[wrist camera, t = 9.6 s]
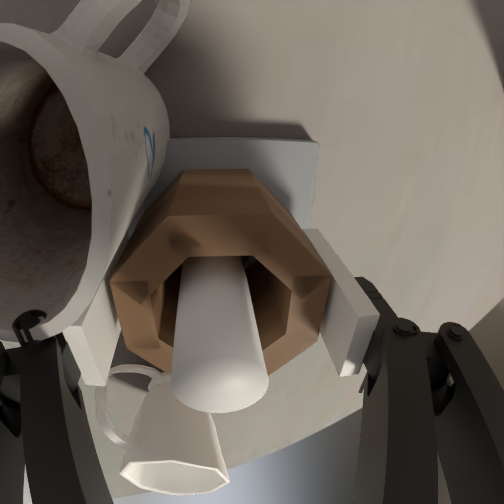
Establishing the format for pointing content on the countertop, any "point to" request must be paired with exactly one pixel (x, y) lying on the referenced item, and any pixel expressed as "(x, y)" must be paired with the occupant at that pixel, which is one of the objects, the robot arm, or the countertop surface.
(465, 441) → the robot arm
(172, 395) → the cup
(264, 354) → the collar
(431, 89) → the countertop surface
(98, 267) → the mug
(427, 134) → the countertop surface
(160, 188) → the peg stand with ring
